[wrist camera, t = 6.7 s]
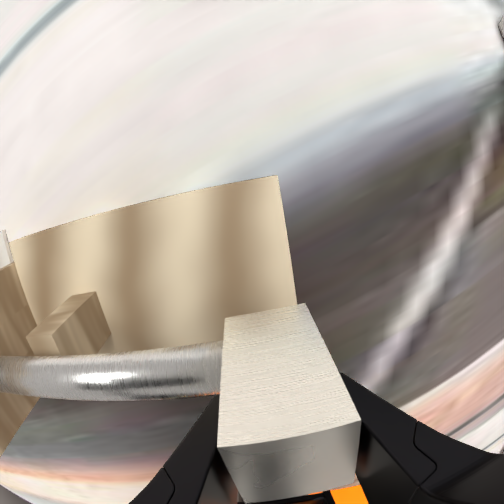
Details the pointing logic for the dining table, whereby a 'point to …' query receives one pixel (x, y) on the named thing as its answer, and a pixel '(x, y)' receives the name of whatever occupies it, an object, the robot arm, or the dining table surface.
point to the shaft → (231, 397)
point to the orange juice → (349, 495)
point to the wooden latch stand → (143, 278)
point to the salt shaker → (502, 26)
